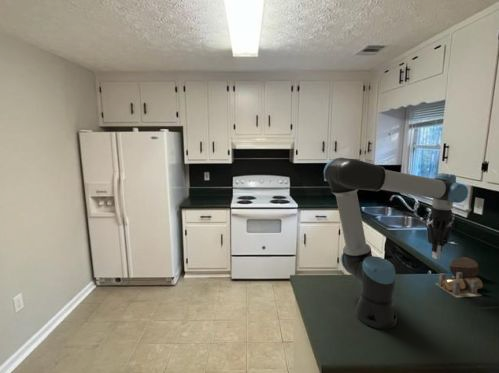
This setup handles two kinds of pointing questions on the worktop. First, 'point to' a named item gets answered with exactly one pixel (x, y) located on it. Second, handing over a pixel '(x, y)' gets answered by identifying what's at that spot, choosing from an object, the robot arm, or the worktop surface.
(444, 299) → the worktop surface
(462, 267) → the rock
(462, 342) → the worktop surface
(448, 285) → the tube
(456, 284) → the board
